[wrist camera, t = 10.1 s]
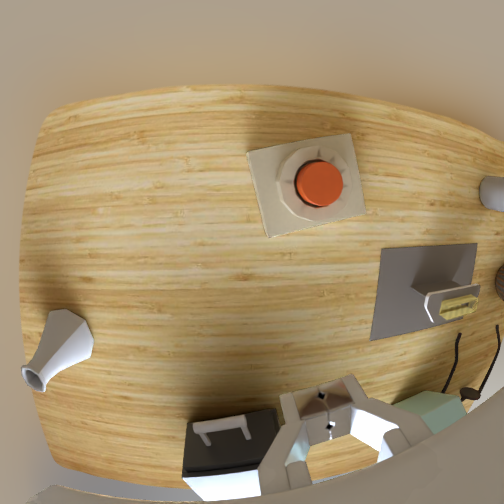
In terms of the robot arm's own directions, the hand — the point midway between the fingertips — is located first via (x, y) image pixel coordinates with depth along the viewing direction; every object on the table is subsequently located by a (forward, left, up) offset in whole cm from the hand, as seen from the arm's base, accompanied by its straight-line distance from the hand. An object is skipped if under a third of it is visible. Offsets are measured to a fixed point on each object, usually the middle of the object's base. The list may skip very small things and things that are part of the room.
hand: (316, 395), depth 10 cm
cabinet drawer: (-9, -24, -18) cm, 32 cm away
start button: (+6, +7, -16) cm, 18 cm away
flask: (-25, -3, -20) cm, 32 cm away
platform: (+21, -10, -20) cm, 30 cm away
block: (+6, +7, -19) cm, 21 cm away
